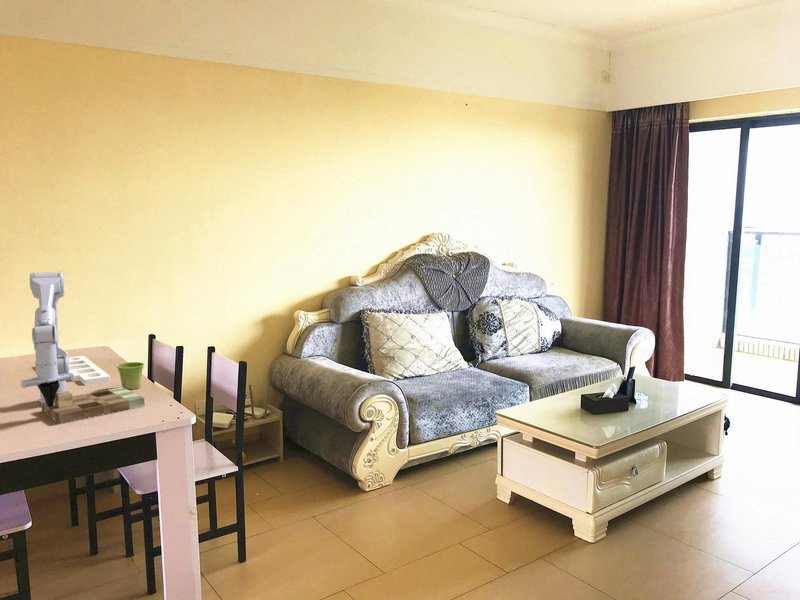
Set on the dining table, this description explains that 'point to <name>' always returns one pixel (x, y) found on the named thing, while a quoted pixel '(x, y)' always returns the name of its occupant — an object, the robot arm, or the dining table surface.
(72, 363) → the holder
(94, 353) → the dining table surface
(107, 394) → the trap board
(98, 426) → the dining table surface
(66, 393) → the maple block
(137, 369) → the plant pot
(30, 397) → the dining table surface
